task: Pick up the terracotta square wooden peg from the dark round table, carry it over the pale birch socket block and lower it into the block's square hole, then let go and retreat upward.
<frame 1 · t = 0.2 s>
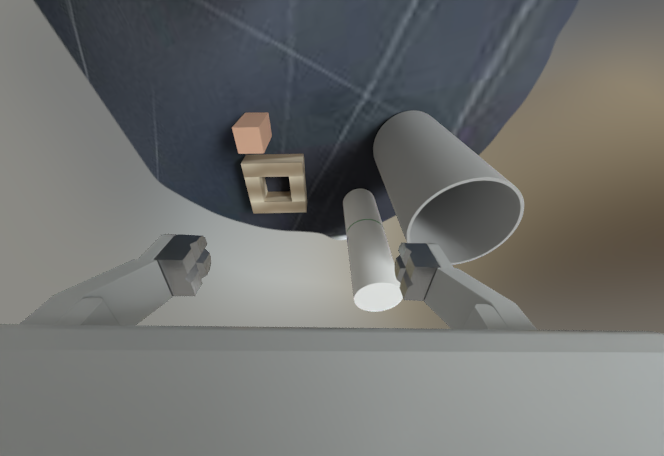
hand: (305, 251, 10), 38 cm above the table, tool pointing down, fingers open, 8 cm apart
cylinder vase: (404, 144, 47), on the table
socket block: (278, 179, 51), on the table
peg: (258, 124, 44), on the table
cylindrical container: (358, 201, 55), on the table
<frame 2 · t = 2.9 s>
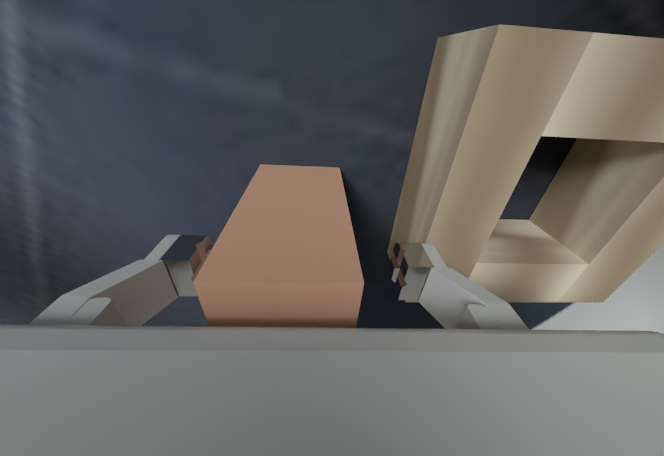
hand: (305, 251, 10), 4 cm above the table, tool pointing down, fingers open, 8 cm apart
socket block: (506, 174, 13), on the table
peg: (301, 201, 14), on the table
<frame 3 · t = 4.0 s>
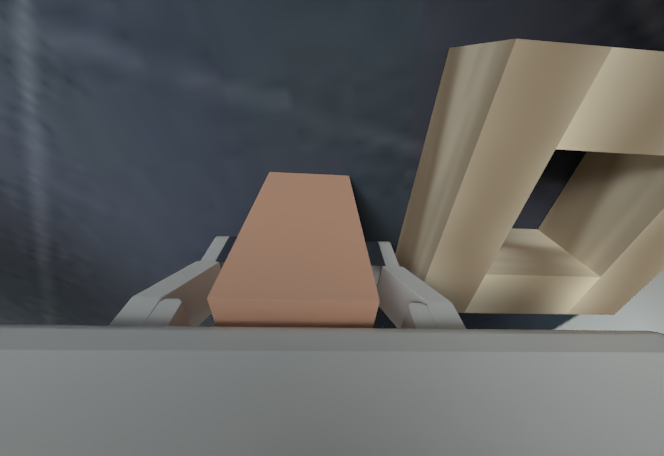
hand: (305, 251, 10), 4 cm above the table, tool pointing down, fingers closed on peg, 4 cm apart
socket block: (515, 183, 13), on the table
peg: (309, 208, 13), on the table, touching gripper
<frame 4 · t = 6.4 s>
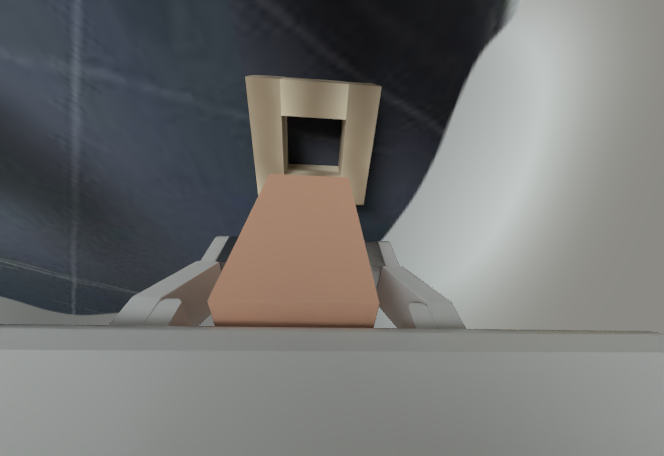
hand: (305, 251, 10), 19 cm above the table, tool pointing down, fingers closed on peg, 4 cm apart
socket block: (314, 139, 26), on the table
peg: (308, 210, 14), point 15 cm above the table, touching gripper
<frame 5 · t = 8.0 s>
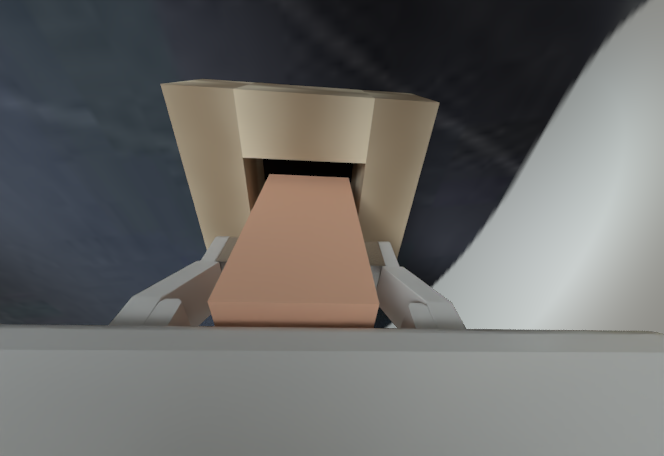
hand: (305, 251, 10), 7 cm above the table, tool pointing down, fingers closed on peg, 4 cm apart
socket block: (308, 182, 16), on the table
peg: (308, 210, 14), point 3 cm above the table, touching gripper
when the fingers open (5 cm above the table, at t = 9.0 s): peg drops 1 cm, resting in socket block.
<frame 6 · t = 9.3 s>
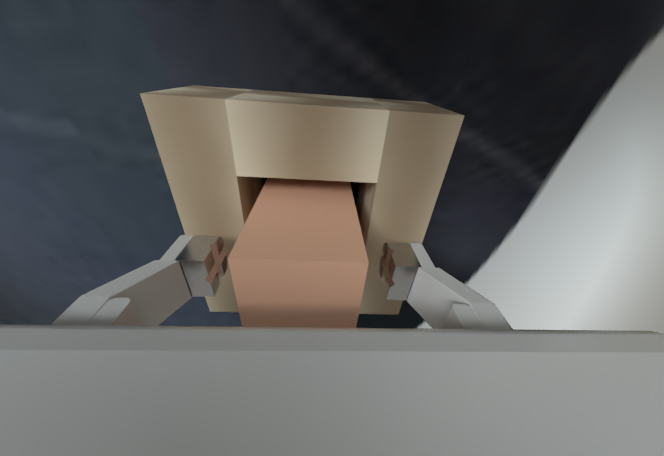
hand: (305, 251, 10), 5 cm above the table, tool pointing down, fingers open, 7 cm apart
socket block: (310, 197, 15), on the table
peg: (310, 198, 15), resting in socket block
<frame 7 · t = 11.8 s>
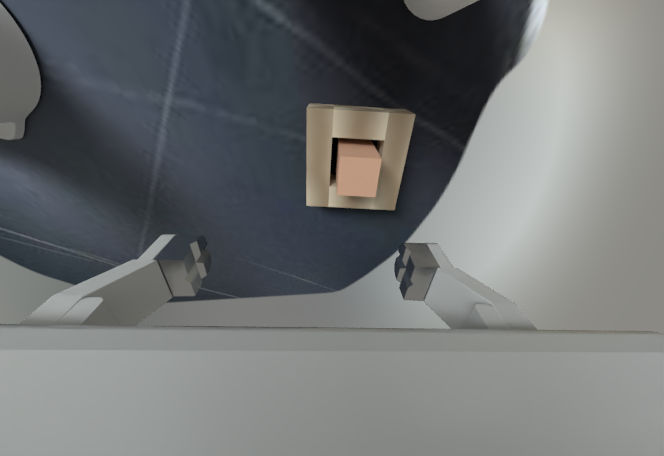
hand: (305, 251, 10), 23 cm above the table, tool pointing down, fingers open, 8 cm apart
socket block: (353, 154, 31), on the table
peg: (352, 154, 31), resting in socket block
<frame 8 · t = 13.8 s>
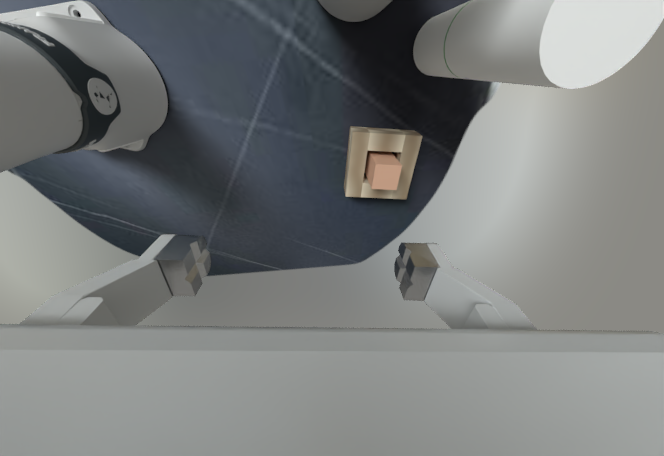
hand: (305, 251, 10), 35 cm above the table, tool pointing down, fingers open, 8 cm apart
socket block: (377, 160, 44), on the table
peg: (376, 160, 44), resting in socket block
cylindrical container: (437, 46, 35), on the table
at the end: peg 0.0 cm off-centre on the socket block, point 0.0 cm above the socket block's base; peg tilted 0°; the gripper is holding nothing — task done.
